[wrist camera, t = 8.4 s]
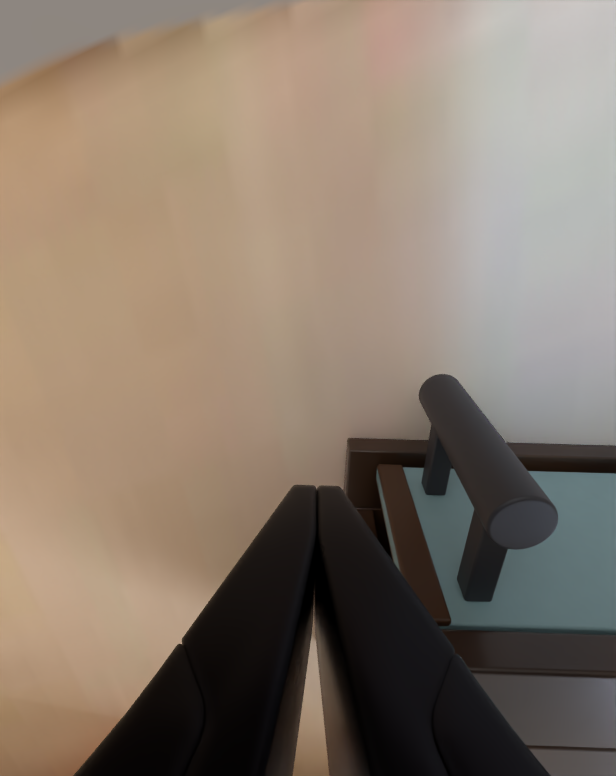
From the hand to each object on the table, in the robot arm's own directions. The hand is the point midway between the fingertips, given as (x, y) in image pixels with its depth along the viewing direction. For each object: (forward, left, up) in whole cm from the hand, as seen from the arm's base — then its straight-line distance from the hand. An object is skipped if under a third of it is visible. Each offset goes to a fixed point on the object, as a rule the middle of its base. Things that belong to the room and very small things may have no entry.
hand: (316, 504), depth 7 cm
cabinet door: (-6, +1, -5) cm, 8 cm away
